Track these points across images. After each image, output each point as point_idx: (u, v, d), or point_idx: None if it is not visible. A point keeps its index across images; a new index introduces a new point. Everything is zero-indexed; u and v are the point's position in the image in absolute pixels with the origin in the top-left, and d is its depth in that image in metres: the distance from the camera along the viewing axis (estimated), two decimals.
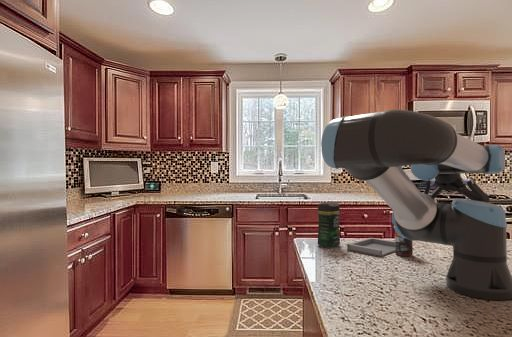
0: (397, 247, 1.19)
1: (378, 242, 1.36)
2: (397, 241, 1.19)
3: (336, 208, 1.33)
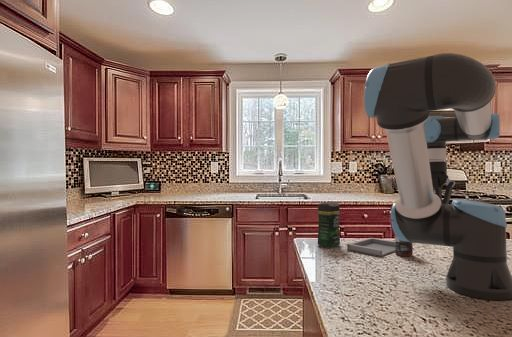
0: (397, 247, 1.19)
1: (378, 242, 1.36)
2: (397, 241, 1.19)
3: (336, 208, 1.33)
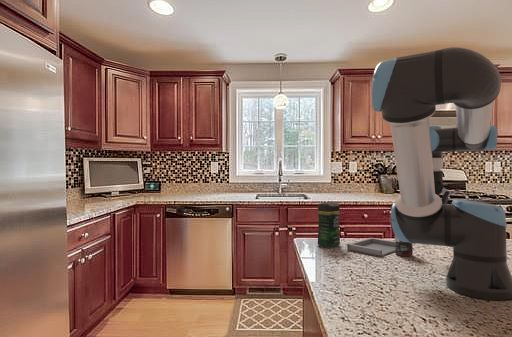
0: (397, 247, 1.19)
1: (378, 242, 1.36)
2: (397, 241, 1.19)
3: (336, 208, 1.33)
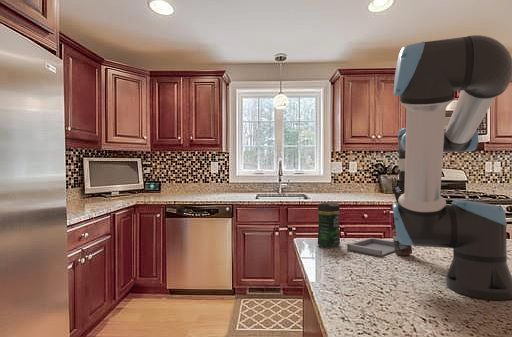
0: (396, 246, 1.19)
1: (378, 242, 1.36)
2: (395, 240, 1.19)
3: (336, 208, 1.33)
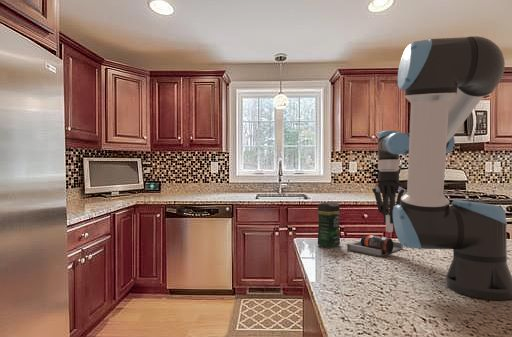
0: None
1: None
2: None
3: (336, 208, 1.33)
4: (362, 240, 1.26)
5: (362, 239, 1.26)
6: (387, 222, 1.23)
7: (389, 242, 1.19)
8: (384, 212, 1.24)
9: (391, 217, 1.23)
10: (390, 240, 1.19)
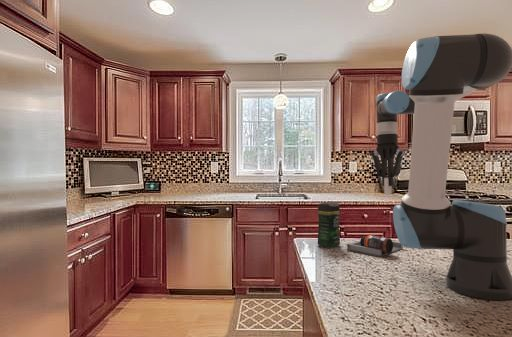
0: None
1: None
2: None
3: (336, 208, 1.33)
4: (361, 241, 1.26)
5: (361, 240, 1.26)
6: (386, 185, 1.24)
7: (388, 243, 1.19)
8: (383, 175, 1.25)
9: (390, 179, 1.23)
10: (389, 240, 1.19)
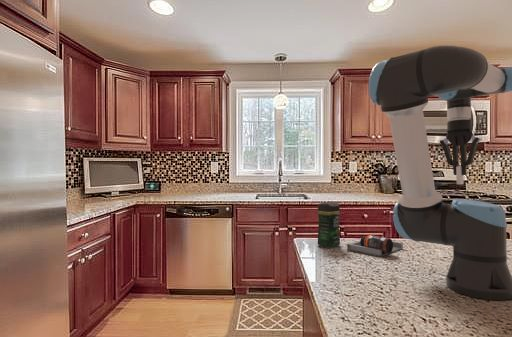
0: None
1: None
2: None
3: (336, 208, 1.33)
4: (361, 241, 1.26)
5: (361, 240, 1.26)
6: (458, 174, 1.17)
7: (388, 243, 1.19)
8: (454, 164, 1.18)
9: (463, 168, 1.16)
10: (389, 240, 1.19)
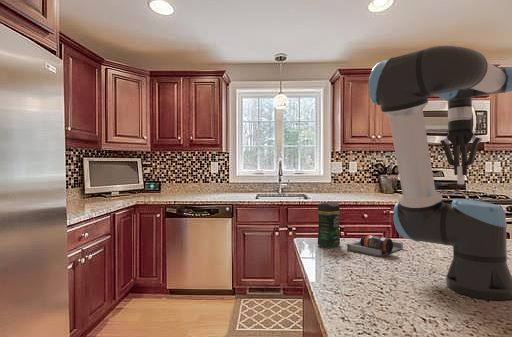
0: None
1: None
2: None
3: (336, 208, 1.33)
4: (361, 241, 1.26)
5: (361, 240, 1.26)
6: (459, 174, 1.17)
7: (388, 243, 1.19)
8: (455, 164, 1.18)
9: (464, 168, 1.16)
10: (389, 240, 1.19)
